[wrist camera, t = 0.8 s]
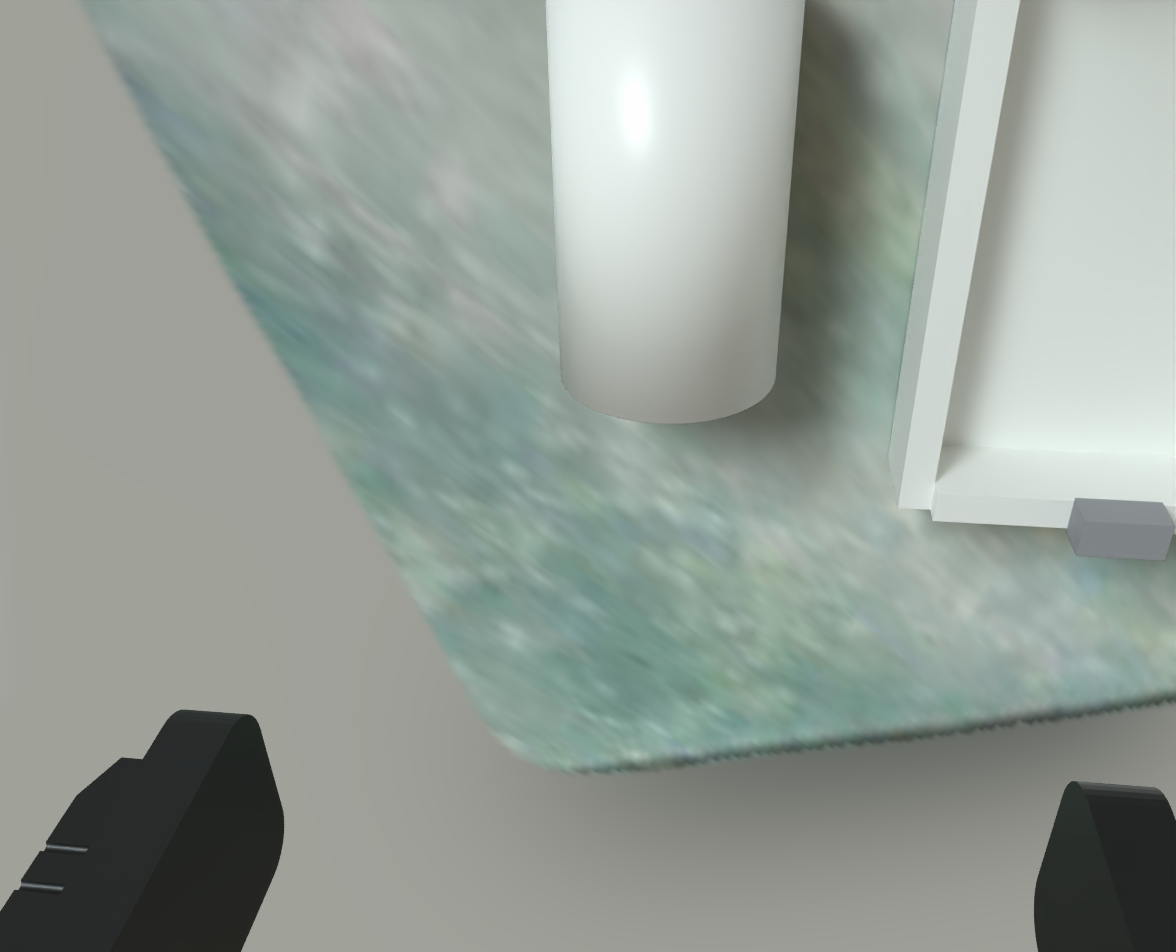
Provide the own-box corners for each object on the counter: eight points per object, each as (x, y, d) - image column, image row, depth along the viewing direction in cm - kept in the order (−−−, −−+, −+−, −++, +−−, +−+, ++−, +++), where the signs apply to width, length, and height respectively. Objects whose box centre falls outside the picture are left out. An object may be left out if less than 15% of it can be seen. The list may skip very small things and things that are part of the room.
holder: (976, -145, 22) (1015, -132, 19) (1515, -154, 21) (1660, -142, 18) (887, 459, 30) (904, 545, 26) (1278, 479, 29) (1346, 571, 25)
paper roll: (576, -66, 24) (512, -33, 20) (814, -67, 23) (801, -31, 19) (586, 329, 29) (537, 424, 25) (781, 343, 28) (765, 445, 24)
